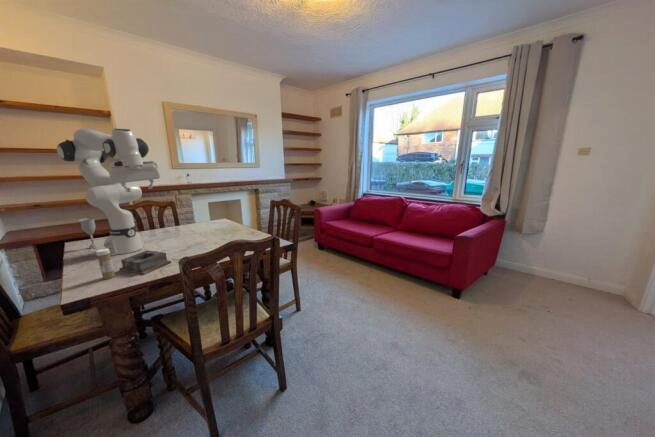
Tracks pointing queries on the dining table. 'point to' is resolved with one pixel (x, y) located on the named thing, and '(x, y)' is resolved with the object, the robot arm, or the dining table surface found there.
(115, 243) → the robot arm
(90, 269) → the dining table surface
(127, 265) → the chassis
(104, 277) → the sprinkles bottle
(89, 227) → the chalice
